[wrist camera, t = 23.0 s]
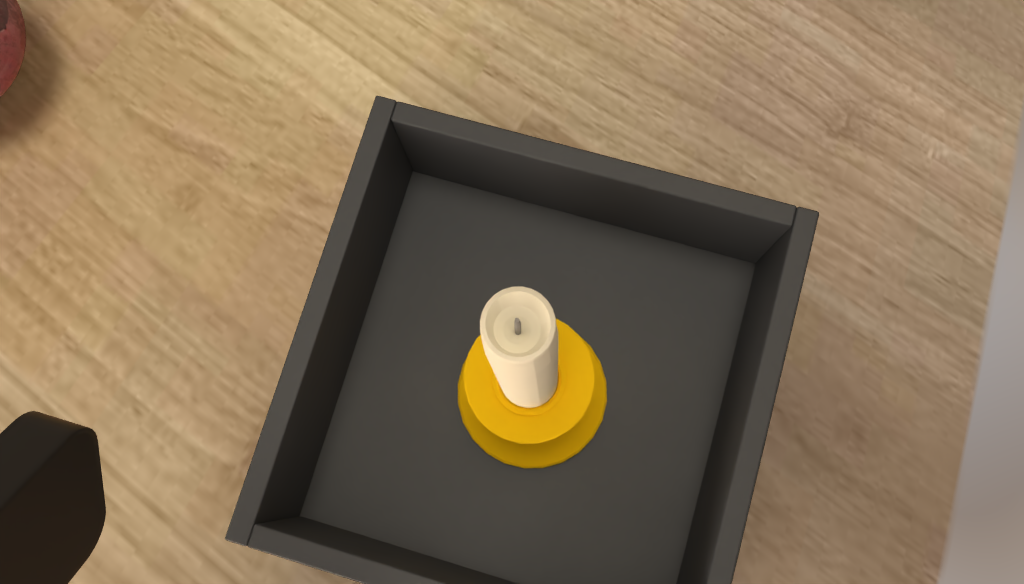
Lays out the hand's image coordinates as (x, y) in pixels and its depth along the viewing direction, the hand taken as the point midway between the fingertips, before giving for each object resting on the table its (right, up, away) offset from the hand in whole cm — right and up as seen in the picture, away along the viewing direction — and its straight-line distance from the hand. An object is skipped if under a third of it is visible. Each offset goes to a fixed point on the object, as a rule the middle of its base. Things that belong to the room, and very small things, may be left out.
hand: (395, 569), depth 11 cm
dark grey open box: (+2, 0, +22) cm, 22 cm away
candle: (+2, 0, +21) cm, 21 cm away
